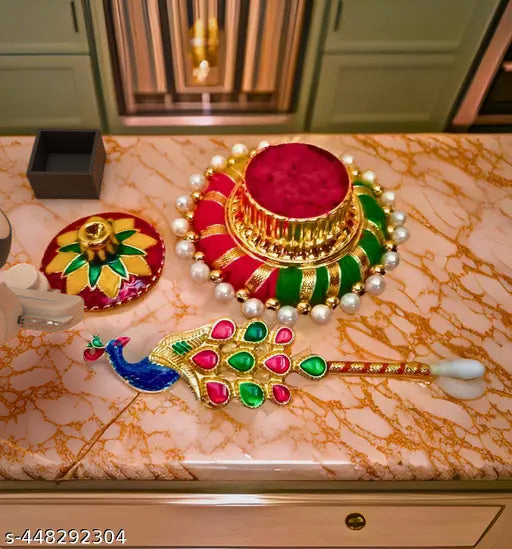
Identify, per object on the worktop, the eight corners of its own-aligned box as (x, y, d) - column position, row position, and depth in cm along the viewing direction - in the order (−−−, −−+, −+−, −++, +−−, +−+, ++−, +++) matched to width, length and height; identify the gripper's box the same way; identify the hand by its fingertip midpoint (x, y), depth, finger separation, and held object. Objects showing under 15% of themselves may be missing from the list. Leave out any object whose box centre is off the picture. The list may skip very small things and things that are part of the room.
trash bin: (36, 198, 117) (25, 174, 111) (47, 153, 124) (37, 127, 118) (99, 199, 118) (91, 175, 111) (106, 154, 124) (100, 128, 118)
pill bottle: (65, 323, 92) (47, 287, 82) (25, 335, 90) (2, 300, 81) (56, 291, 95) (38, 253, 85) (17, 303, 93) (-5, 266, 84)
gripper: (65, 303, 73) (100, 279, 87) (-92, 282, 74) (-33, 261, 87) (62, 350, 75) (97, 319, 88) (-92, 328, 75) (-34, 301, 89)
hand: (31, 290), depth 88 cm, fingers closed on pill bottle, 6 cm apart
